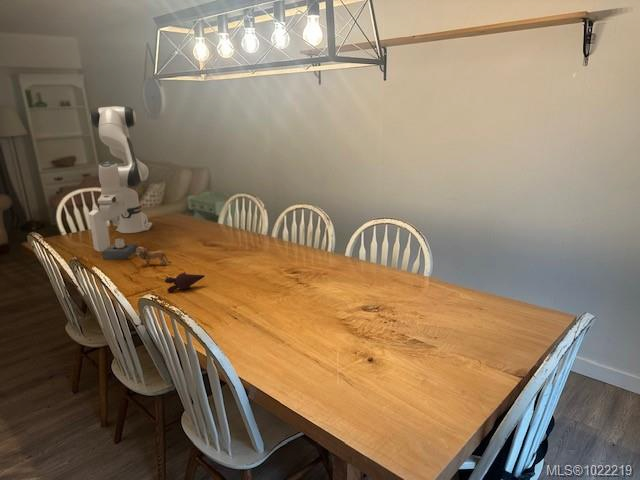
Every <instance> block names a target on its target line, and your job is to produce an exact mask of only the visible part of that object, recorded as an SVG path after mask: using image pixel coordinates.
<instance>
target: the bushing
mask: <svg viewBox="0 0 640 480" xmlns="http://www.w3.org/2000/svg"><path fill="white" fill-rule="evenodd" d="M114 244H115V245H116V249H124V248H125V245H124V244H125V240H124V238H123V237H121V238H115V239H114Z"/></svg>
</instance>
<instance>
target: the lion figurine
mask: <svg viewBox="0 0 640 480" xmlns="http://www.w3.org/2000/svg"><path fill="white" fill-rule="evenodd" d="M136 256H137V257H138V258H140V259H142V260H143V261H144V260H145V262H146V265H145V266H146V267H149V266H150V264H151V262H150V261H151V260H156V259H159V260H160V263H159V264H161V265H163V266H164V267H166V266H167V264H172V261H169V260H168V258H167V255H166V254H165V252H164V251H163V250H155V251H152V250H151V249H149V248H146V247H145V246H138V248H136Z"/></svg>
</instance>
